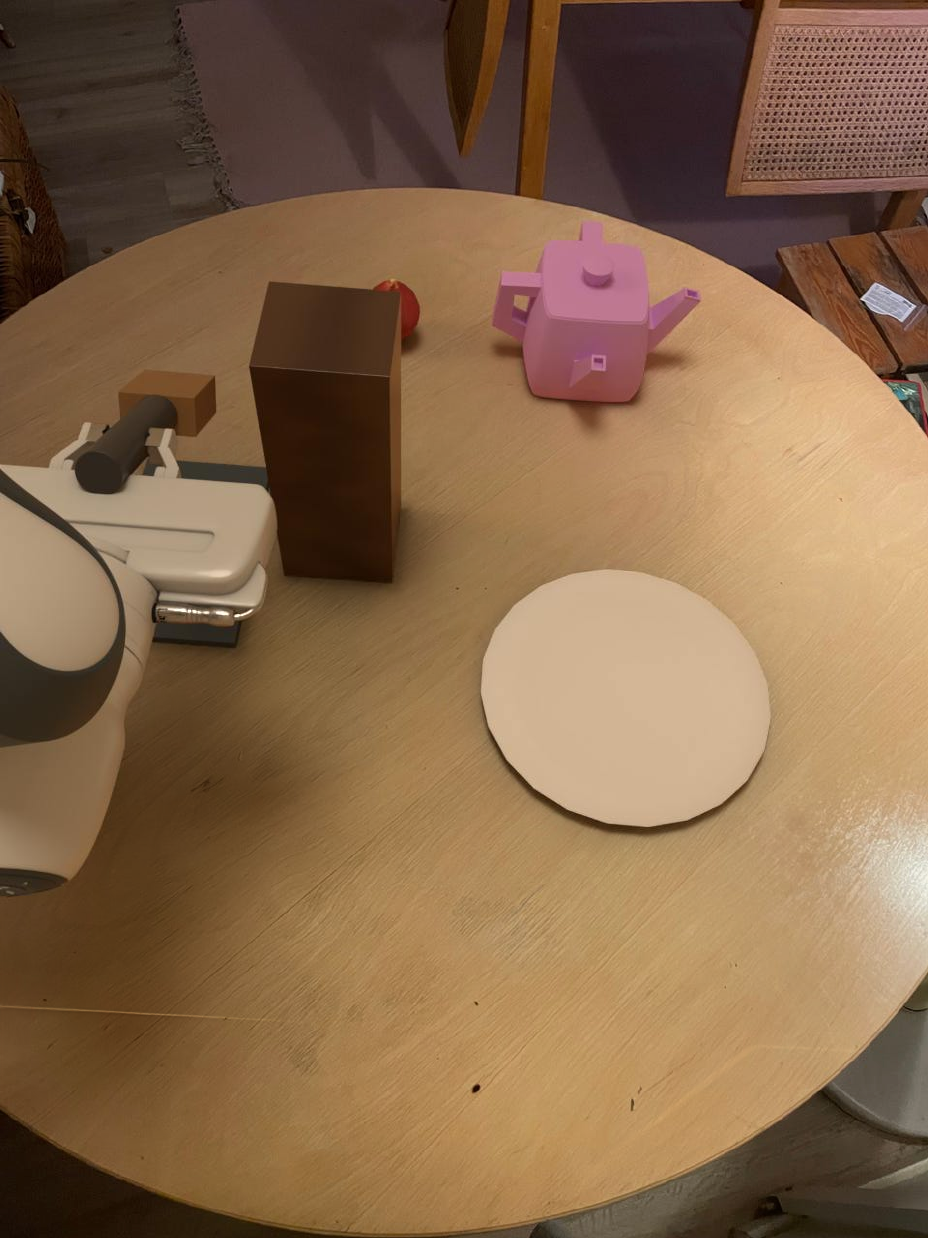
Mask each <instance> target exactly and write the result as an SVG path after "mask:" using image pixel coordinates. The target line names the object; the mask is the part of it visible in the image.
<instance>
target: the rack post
mask: <svg viewBox="0 0 928 1238" xmlns="http://www.w3.org/2000/svg"><path fill="white" fill-rule="evenodd" d="M251 351H252V352H251V356H250V360H249V364H248V369H249V375H250V380H251V386H252V393H253V398H254V404H255V405H254V406H255V410H256V416H257V423H258V429H259V435H260V440H261V446H262V452H263V458H264V463H265V464H264V465H265V467H266V471H267V477H268V482H269V487H268V489H269V495H270V496H271V497H272V499H273V501H274V504H275V509H276V516H277V533H276V537H277V541H278V548H279V553H280V559H281V566H282V571H283V576H288V577H289V576H292V577H305V578H318V579H331V580H343V581H344V580H345V581H358V582H368V583H369V582H372V583H384V584H393V583H394V575H395V573H394V572H395V565H396V556H397V549H398V548H397V547H398V540H399V539H398V538H399V529H400V519H401V513H402V339H401V292H398V291H385V290H373V288H371V289H370V288H358V287H345V286H335V285H333V286H332V285H322V284H321V285H320V284H310V283H309V284H307V283H295V282H284V281H283V282H282V281H271V280H270V281H268V283H267V287H266V291H265V296H264V300H263V304H262V309H261V313H260V318H259V322H258V326H257V330H256V335H255V339H254V343H253V347H252V350H251Z"/></svg>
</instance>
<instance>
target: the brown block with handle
mask: <svg viewBox="0 0 928 1238" xmlns="http://www.w3.org/2000/svg"><path fill="white" fill-rule="evenodd" d="M216 389H217V387H216V375H214V374H202V373H192V372H177V371H165V370H153V369H143V370H142V371H141V372H139V373H138V374H137V375H136V376H135V377H134V378H132V379H131V380H130V381H128V383H126V384H125V385H124V386H123V387H121V389H119V390H118V391H117V397H118V410H119V420H117V422H115V423H114V424H113V425H112V426H111V427H110V429H109V430H108V431H107V432H106V433H104V434H103V435H102V436H101V437H100V438H99V439H98V440H97V441H96V442H95V443H94V444H92V445H91V446H90V447H89V448H88V449H87V450H86V451H85V452H84V453H83V454H82V455H80V456H79V458H78V459H77V461H76V463H75V476H76V479H77V481H78V482H79V484H80V485H81V486H82V487H83V488H84V489H85V490H86V491H88V492H89V493H93V494H105V495H109V494H113V493H115V492H116V491H117V490H118V489H119V488H120V487H121V486H122V485H123V483H124V482H125V480H126V479H127V478H128V476H129V475H134V473H135V472H136V471H137V469H138V468H139V467H140V466H142V464H143V463H144V462H145V461H146V460H147V459H148V456H149V454H148V453H147V449H146V447H145V442H146V439H147V437H148V436H149V429H150V428H151V427H152V428H166V429H174V430H175V433H176V437H189V438H196V437H197V436H198V435H199V434H200V433H201V432H202V430H203V429H204V428H205V427H206V426H207V424H209V422H210V421H211V420H212V418H213V417H214V416H215V415H216V413H217V391H216Z"/></svg>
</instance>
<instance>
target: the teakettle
mask: <svg viewBox="0 0 928 1238" xmlns="http://www.w3.org/2000/svg"><path fill="white" fill-rule="evenodd" d="M649 287H650V285H649V278H648V272H647V266H646V261H645V258H644V254H643V252H642V250H641V249H640V247H639V246H637V245H634V244H633V245H632V244H627V243H626V244H625V243H615V242H605V241H604V222H602V221H589V220H582V221H581V226H580V231H579V237H578V240H576V239H575V240H573V239H572V240H571V239H551V240H549V241H548V242H546V244H545V246H544V249H543V251H542V253H541V256H540V259H539V261H538V263H537V267H536V270H535V272H531V271H511V270H502V271H501V273H500V278H499V283H498V288H497V292H496V295H495V300H494V305H493V310H492V318H491V319H492V320H491V326H492V327H494V328H496V329H497V330H499V331H501V332H503V333H505V334H507V335H509V336H510V337H512V338H514V339H516V340H517V341H519V342H521V343H522V353H523V362H524V367H525V368H524V369H525V372H526V378H527V382H528V385H529V388H530V391H531V392H532V394H533V395H534V396H536V397H541V398H548V399H554V400H555V399H556V400H568V401H578V402H580V401H581V402H599V403H628V402H629V401H631V399H632V398H634V396H635V395H636V394H637V392H638V391H639V388H640V386H641V384H642V380H643V376H644V372H645V368H646V367H645V366H646V363H647V362H646V360H647V354H650V353H651V352H652V351H654V349H655V348H656V347H657V346H658V345H659V344H660V343H661V342H662V341H664V339H665V338H666V337H667V336H668V335H669V334H671V332H672V331H673V330H674V329H675V328H676V327H677V326H678V325H679V324H680V323H681V322H682V321H683V320H684V319H685V318H686V317H687V316H688V315H689V314H690V313H691V312H692V311H693V310H694V309H695V308H696V307H697V306H698V305H699V304H700V303H701V301H702V296H701V290H697V289H694V288H689V287H686V286H683V288H682V289H681V290H679V291H677V292H675V293H674V294H671V295H670V296H668V297H667V298H664V299H663V300H661V301H658V303H656V304H654V305H652V306H650V288H649ZM515 296H523V297H528V298H527V304H526V308H525V310H523V309H522V308H520V307H518V306H516V305H514V304H515Z"/></svg>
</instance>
